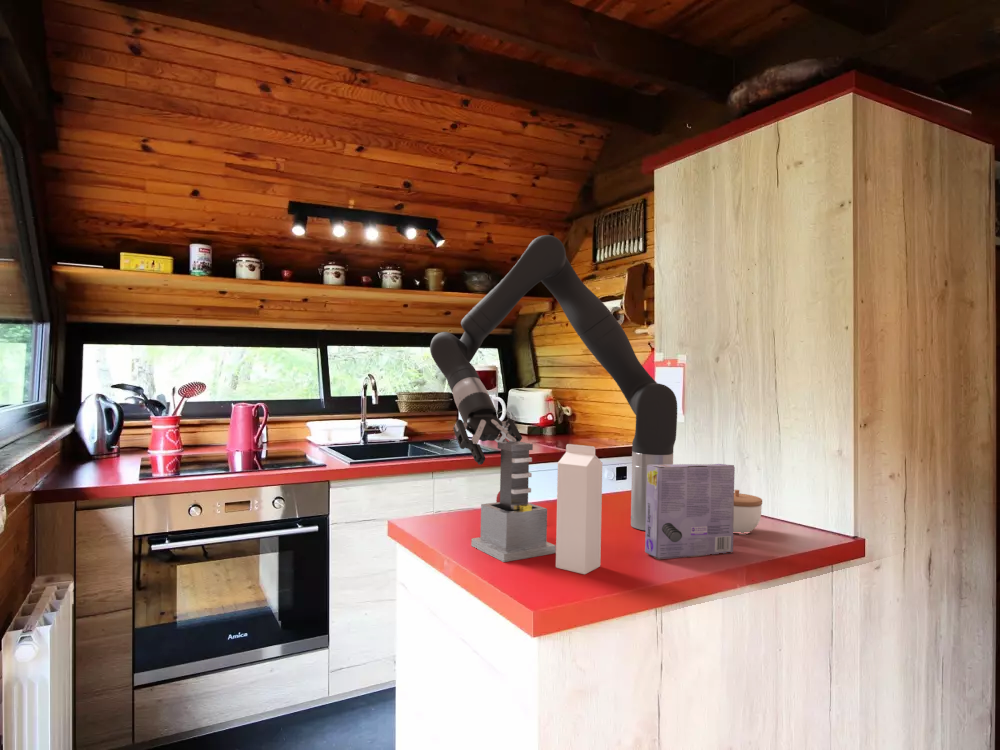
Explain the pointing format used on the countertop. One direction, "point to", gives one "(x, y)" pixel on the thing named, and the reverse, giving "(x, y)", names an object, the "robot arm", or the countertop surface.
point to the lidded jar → (746, 512)
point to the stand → (513, 532)
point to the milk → (579, 510)
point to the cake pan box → (689, 510)
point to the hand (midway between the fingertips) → (500, 461)
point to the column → (514, 474)
